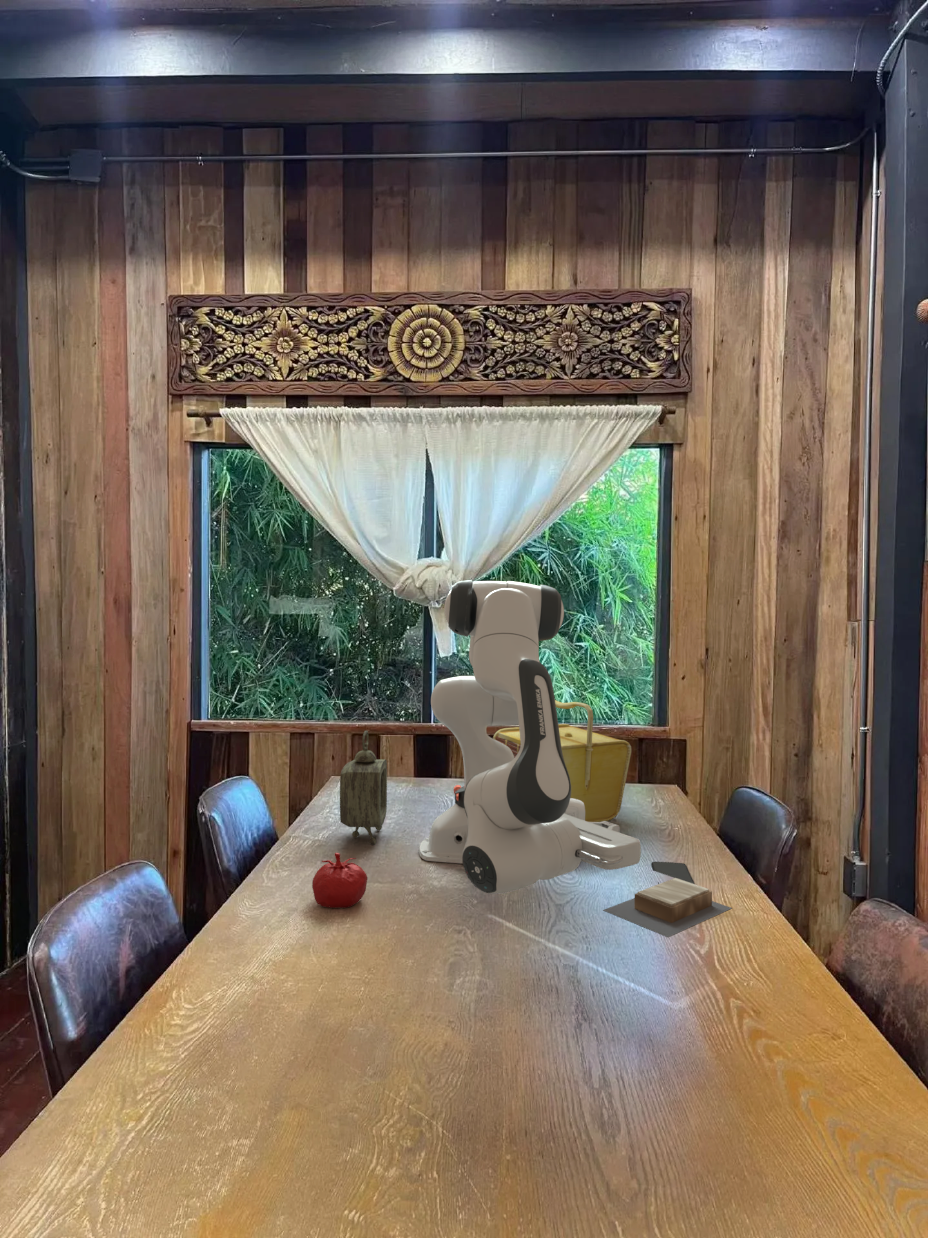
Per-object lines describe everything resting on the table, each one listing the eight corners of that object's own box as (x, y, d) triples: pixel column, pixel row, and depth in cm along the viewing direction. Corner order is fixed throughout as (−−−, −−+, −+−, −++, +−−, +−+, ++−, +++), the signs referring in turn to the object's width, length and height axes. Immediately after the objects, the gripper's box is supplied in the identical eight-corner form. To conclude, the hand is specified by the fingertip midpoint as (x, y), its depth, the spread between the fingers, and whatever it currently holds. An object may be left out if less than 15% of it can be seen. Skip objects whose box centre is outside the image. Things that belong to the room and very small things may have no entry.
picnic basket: (490, 803, 212) (490, 693, 211) (570, 793, 223) (571, 689, 222) (545, 834, 186) (546, 708, 185) (634, 821, 197) (635, 702, 196)
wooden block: (671, 906, 134) (712, 889, 142) (634, 892, 141) (675, 876, 148) (671, 923, 135) (711, 905, 142) (634, 908, 141) (674, 892, 148)
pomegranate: (356, 917, 139) (356, 865, 138) (303, 911, 141) (303, 860, 140) (374, 894, 148) (374, 846, 148) (324, 889, 150) (324, 842, 150)
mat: (667, 940, 129) (667, 937, 129) (602, 913, 140) (602, 910, 140) (732, 911, 141) (732, 908, 141) (667, 888, 152) (667, 885, 152)
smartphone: (686, 863, 165) (697, 888, 150) (686, 867, 165) (697, 893, 151) (650, 861, 166) (657, 885, 152) (650, 865, 166) (657, 890, 152)
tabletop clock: (379, 848, 175) (379, 737, 174) (339, 847, 175) (338, 736, 174) (386, 828, 190) (387, 726, 189) (349, 828, 190) (349, 725, 189)
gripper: (606, 844, 114) (664, 825, 122) (511, 810, 130) (568, 795, 138) (605, 887, 114) (663, 865, 123) (510, 847, 130) (568, 830, 139)
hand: (612, 827), depth 131 cm, fingers closed
